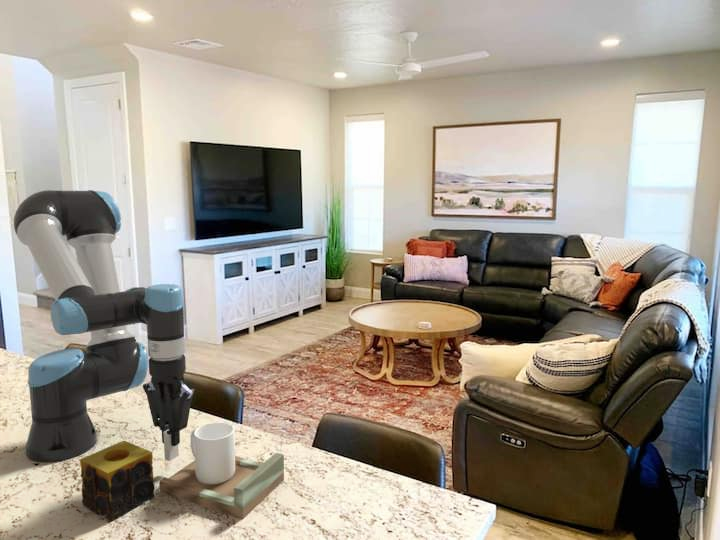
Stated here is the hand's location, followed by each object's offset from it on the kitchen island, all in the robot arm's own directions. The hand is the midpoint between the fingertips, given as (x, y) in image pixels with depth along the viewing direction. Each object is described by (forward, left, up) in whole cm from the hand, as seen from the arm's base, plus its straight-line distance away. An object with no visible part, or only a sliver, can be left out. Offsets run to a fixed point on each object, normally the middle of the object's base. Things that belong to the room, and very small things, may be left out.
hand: (171, 457), depth 116 cm
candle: (-2, -13, -4) cm, 14 cm away
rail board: (+14, 0, -4) cm, 14 cm away
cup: (+10, +1, -2) cm, 10 cm away
